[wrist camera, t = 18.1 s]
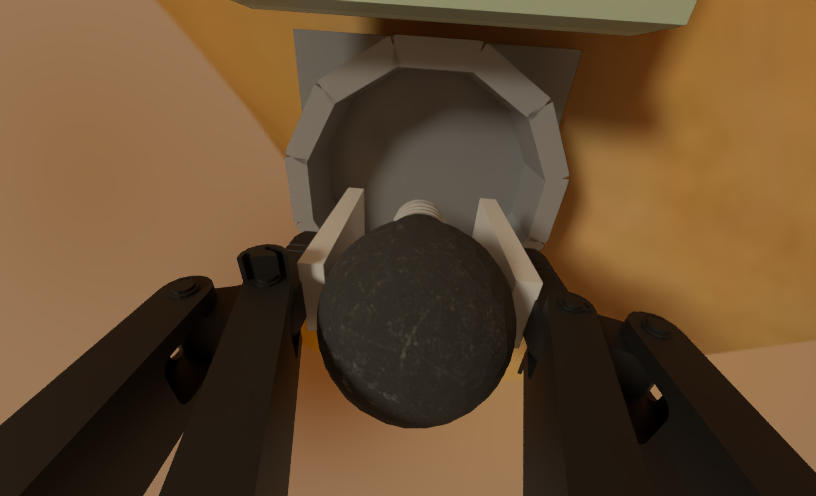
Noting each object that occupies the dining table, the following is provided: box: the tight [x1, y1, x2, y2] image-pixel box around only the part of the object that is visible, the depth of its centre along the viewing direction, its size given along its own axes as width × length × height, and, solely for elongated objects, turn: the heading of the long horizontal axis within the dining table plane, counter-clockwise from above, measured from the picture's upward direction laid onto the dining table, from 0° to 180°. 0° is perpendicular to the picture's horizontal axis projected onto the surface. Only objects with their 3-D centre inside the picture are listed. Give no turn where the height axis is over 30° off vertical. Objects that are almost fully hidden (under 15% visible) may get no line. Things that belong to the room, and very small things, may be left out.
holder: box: [285, 29, 582, 251], centre depth 19 cm, size 16×16×5 cm
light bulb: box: [317, 200, 517, 428], centre depth 10 cm, size 6×6×10 cm
